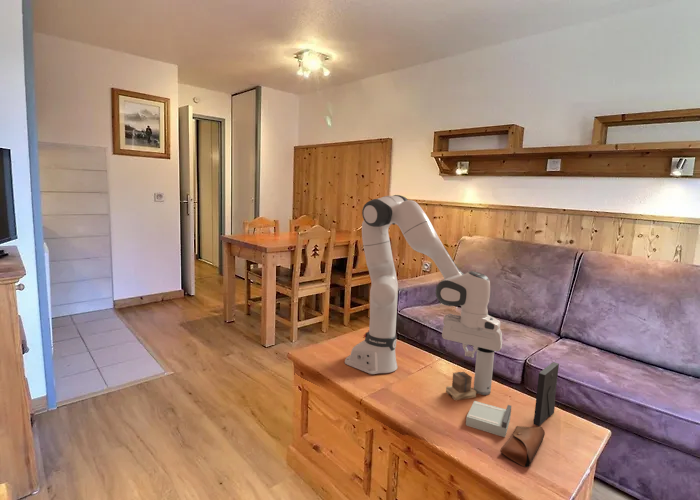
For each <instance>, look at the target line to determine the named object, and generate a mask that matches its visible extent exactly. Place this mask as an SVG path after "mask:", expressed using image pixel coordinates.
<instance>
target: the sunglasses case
mask: <svg viewBox="0 0 700 500" xmlns="http://www.w3.org/2000/svg"><path fill="white" fill-rule="evenodd" d="M545 435H546V432H545V430H544V428H543V427H542V426H537V427H532V426H531V427H530V426H518V425H517V426H515V428H514V430H513V432H512V434H511V435H510V436H509V438H508V439H507V441H506V442H505V443H504V444H503V446H502V447H501V448H500V450H499V452H500V453H501V454H502V455H503V456H505V457H507V458H508V459H510V460H511V461H513V462H515V463H516V464H518V465H520V466H521V467H524V468H528V467H530V465H531V463H532V462H533V460H534V458H535V456H536V454H537V453H538V452H537V451H538V450H539V447H540V446H541V444H542V442H543V441H544V437H545Z"/></svg>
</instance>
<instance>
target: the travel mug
mask: <svg viewBox="0 0 700 500" xmlns="http://www.w3.org/2000/svg"><path fill="white" fill-rule="evenodd" d="M475 356H476V358H475V368H474V369H475V370H474V377H473V378H474V379H473V381H474V382H473V389H474V390H475V391H476V394H478V395H483V396H487V395H490V394H491V391H492V382H493V381H492V380H493V372H494V371H493V369H494V359H495V358H494V357H495V351H493V350H489V349H485V348H480V347H478V349H477V350H476V355H475Z"/></svg>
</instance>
